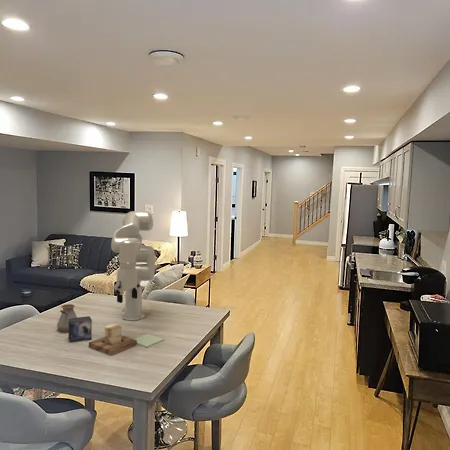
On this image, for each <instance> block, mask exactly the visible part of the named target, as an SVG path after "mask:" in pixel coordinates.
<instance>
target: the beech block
mask: <svg viewBox="0 0 450 450" xmlns="http://www.w3.org/2000/svg"><path fill="white" fill-rule="evenodd" d="M121 335H122V325H120V324H115V323H111V324H108V325H105V326H104V337H105V344H108V345H111V346H113V345H116V344H119V343H121Z"/></svg>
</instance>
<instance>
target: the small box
mask: <svg viewBox="0 0 450 450" xmlns="http://www.w3.org/2000/svg"><path fill="white" fill-rule="evenodd" d="M92 322H93V319H92V318H91V316H90V315H89V316H88V315H87V316H80V317H79V316H77V318H69V332H68V336H67V338H68V340H69V342H70V343H75V342H76V343H77V342H82V341H83V340H84V341H89V340H90V339H91V340H92V337H93V336H92V334H93V333H92V327H93V326H92V325H93V323H92ZM91 340H90V341H91Z"/></svg>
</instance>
